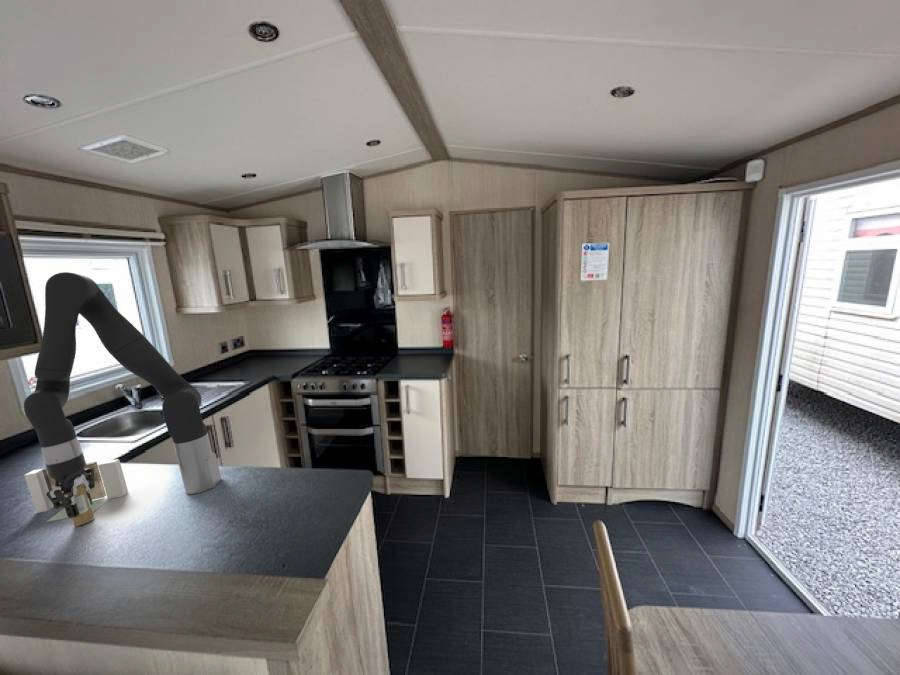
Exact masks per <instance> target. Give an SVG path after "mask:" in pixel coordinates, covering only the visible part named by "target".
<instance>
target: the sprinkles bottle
mask: <svg viewBox="0 0 900 675" xmlns="http://www.w3.org/2000/svg"><path fill="white" fill-rule="evenodd" d="M75 479H77V480H76V483H77V484H76V485H75V486H77V487H76V488H77V495H76V496H75V503H76V505H77V508H78V511H79V515H78V516H77V517H73V518H71V519H72V522H73V524H72V525H73V526H74V527H75V526H82V525H85V524H87V523H89V522H90V521H92V520H94V519H95V514H94V513H93V511H92V508H91V504H90V501H89V498H88V496H87V493H86V490H85V487H84V484H83V483H84V480H83V478H82V477H77V478H75ZM64 494H65V495H66V494H71V492H68V493H64ZM67 500H68V501H70V498H69V497H67Z"/></svg>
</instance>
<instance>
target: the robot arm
mask: <svg viewBox="0 0 900 675" xmlns="http://www.w3.org/2000/svg"><path fill="white" fill-rule="evenodd" d="M44 289H45V290H44V291H45V292H44V294H45V295H44V302H45V304H44V305H45V306H44V307H45V309H44V310H45V311H44V323H43V331H42V337H41V342H40V348H39V351H38V355H37V359H36V363H35V368H34V376H35V378H36V384H35V389H34V391H33V392H32V393H31V394H29V395H28V396H27V397H26V398H25V399H24V401H23V411H24V413H25V416H26V418H27V420H28V421H29V424H31V426H32V428H33V429H34V430H35V432H36V435H37V438H38V441H39V442H38V443H39V445H40V448H41V456H42V458H43V462H44V465H45V467H46V468H45V469H47V471H48V474H49V477H50V478H52V479H54V480H55V488H54V489H53V490H52V491H48V492H47V494H46V495H47V496H48V498H49V499H50V500H51V502H52V503H53V504H54V506H55V507H56V508H55V509H64V508H65V510H66V513H67V516H68V517H69V518H68V519H72V518H73V517H77V516H78V515H79V511H78V508H77V505H76V503H75V496H76V495H77V488H76V487H77V486H75V485H76V484H77V483H76V480H77V479H75V478H77V477H82V478H83V480H84V483H83V484H84V487H85V490H86V493H87V496H88V498H89V501H90V504H91V505H92V501H93V500H92V499H91V496H90V492H91V489H92V488H94V487H95V481H94V468H88V469H84V468H85V467H86V463H87V461H86V459H85V456H84V452H83V449H82V446H81V442H80V441H79V439H78V437H77V433H76V430H75V427H74V425H73V423H72V421H71V420H70V419H67V417H66V415H65V413H64V410H63V407H64V406H66V404H67V402H68V399H69V395H70V390H71V389H70V388H71V387H70V386H71V374H72V371H73V368H74V365H75V358H76V352H77V337H76V336H77V335H76V333H77V332H76V330H77V329H76V328H77V322H78V319H79V315H80V316H82V317H83V319H85V320H86V321H87V322H88V323H89V324H90V326H92V328H93V329H94V331H95V333H96V335H97V337H98V339H99V340H100V342H101V343H102V346H103V347H104V348H105V349H106V351H107V352H108V353H109V354H110V355H111V356H112V357H113V359H115V361H117V362H118V364H120V365H121V367H124V369H125V370H127V371H129V372H130V373H131V374H133V375H135V376H136V377H138V378H140V379H142V380H144V381H145V382H147V383H148V384H150V385H151V386H153V387H154V388H155V390H156V391H157V392H158V393H159V394H160V395H161V397H162V398H163V402H162V404H161V411H162V415H163V418H164V422H165V425H166V429H167V432H168V434H169V436H170V437H171V439H172V440H171V441H172V443H173V448H174V450H175V451H174V452H175V456H176V459H177V463H178V464H177V465H178V467H179V471H180V474H181V478H182V482H183V488H184V490H185V491H184V492H185V493H186V494H187V495H194V494H195V495H196V494H199V493H202V492H206V491H208V490H210V489H214V488H215V487H216V486H217V484H218V483H219V482H220V481H221V479H222V476H221V472H220V468H219V467H220V466H219V463H218V459H217V454H216V453H215V452H213V450H212V446H211V442H210V436H209V433H208V428H207V425H206V424H205V423H204V421H203V417H202V413H201V408H200V407H201V404H202V401H203V400H202V396H201V393H200V392H199V390H198V389H196V388H195V387H194V385H191V383H190V382H188V381H187V380H186V379H184V378H183V377H182V376H181V375H180V374H179V373H178V372H177V371H176V370H175V369H174V368H173V367H172V366H171V364H170V363H169V362H168V361H167V360H166V359H165V358H164V356H163V355H162V354H161V353H160V352H159V351H158V350H157V349H156V347H155V346H154V344H152V343H151V342H150V341H149V339H147V337H146V336H145V335H144V334H143V333H142V332H141V331H139V330H138V328H137V327H135V326H134V324H133V323H131V322H130V321H129V320H128V319H127V318H126V317H125V316H124V315H122V314H121V312H120V311H118V310H117V309H116V307H115V306H114V305H113V303H112V302H111V301H110V300H109V299H108V297H107V296H106V295H105V293H104V292H103V291H102V289H101V288H100V287H99V285H98V284H97V282H95V281H94V280H93V279H92V278H90V277H89V276H86V275H83V274H80V273H79V274H78V273H75V272H71V271H70V272H69V271H63V272H58V273H55V274H53V275H52V276H50V277H49V278H48V279H47V281H46V282H45V288H44ZM88 480H89V481H90V485H89V483H88V482H87V481H88ZM68 492H71V494H66V495H65V494H64V493H68ZM67 497H69V498H70V501H68V500H67ZM60 502H62V503H60Z"/></svg>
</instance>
